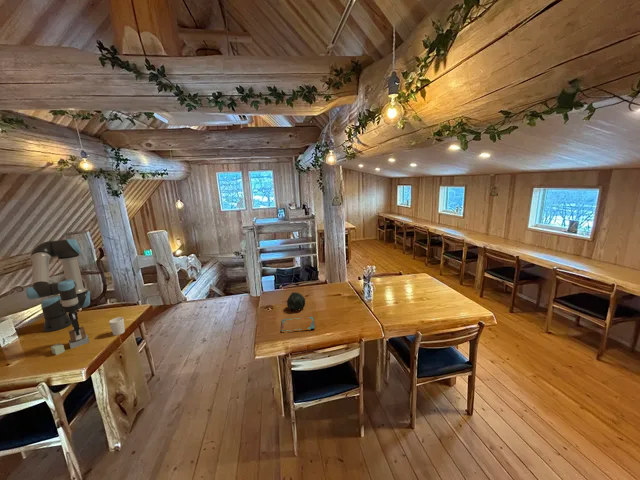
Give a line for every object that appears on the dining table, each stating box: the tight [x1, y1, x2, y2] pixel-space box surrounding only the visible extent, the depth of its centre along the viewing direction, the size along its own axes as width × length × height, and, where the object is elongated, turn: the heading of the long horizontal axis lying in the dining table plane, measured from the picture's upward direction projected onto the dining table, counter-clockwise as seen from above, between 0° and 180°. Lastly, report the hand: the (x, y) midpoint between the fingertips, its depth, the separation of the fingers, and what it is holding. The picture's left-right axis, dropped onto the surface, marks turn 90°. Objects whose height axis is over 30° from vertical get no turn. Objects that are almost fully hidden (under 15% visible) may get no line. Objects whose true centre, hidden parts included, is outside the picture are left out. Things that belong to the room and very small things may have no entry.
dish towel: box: [280, 316, 316, 332], centre depth 181 cm, size 17×23×2 cm
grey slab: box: [68, 334, 90, 350], centre depth 168 cm, size 7×9×4 cm
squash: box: [286, 292, 306, 311], centre depth 206 cm, size 14×15×15 cm
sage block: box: [50, 342, 66, 356], centre depth 159 cm, size 6×4×4 cm, turn 64°
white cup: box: [108, 316, 126, 336], centre depth 179 cm, size 8×8×10 cm
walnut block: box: [68, 326, 87, 342], centre depth 167 cm, size 6×7×6 cm
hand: (78, 337), depth 167 cm, fingers closed on walnut block, 5 cm apart
